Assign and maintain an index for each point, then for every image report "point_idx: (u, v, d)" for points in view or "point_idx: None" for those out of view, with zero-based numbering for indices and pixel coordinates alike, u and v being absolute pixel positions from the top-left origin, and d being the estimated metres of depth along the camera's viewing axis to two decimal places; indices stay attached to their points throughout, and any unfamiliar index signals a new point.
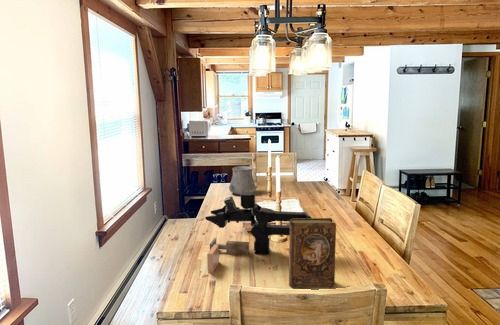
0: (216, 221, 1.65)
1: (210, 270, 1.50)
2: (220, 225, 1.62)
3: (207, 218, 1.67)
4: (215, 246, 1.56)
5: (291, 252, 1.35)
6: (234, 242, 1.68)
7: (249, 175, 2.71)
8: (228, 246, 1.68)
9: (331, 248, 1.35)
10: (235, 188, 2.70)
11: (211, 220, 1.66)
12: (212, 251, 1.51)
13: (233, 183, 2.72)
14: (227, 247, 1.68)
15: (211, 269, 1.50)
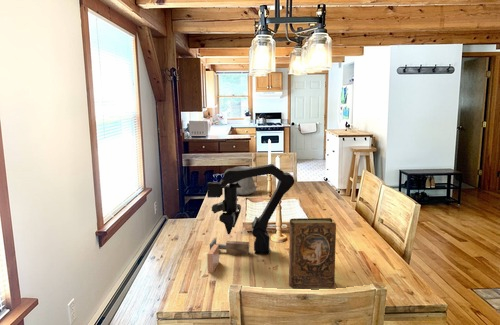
0: (230, 223, 1.61)
1: (210, 270, 1.50)
2: (230, 220, 1.57)
3: (228, 232, 1.63)
4: (215, 246, 1.56)
5: (291, 252, 1.35)
6: (234, 242, 1.69)
7: None
8: (228, 246, 1.68)
9: (331, 248, 1.35)
10: None
11: (230, 228, 1.62)
12: (212, 251, 1.51)
13: None
14: (227, 247, 1.68)
15: (211, 269, 1.50)
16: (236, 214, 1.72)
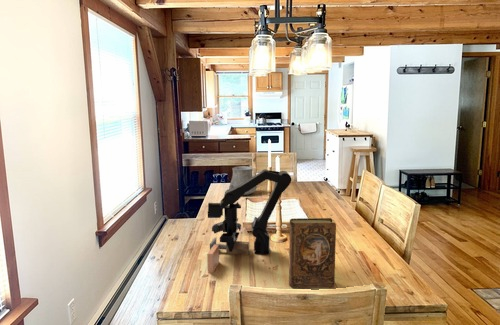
0: None
1: (210, 270, 1.50)
2: (230, 241, 1.59)
3: (230, 249, 1.67)
4: (215, 246, 1.56)
5: (291, 252, 1.35)
6: None
7: (249, 175, 2.71)
8: None
9: (331, 248, 1.35)
10: None
11: (231, 246, 1.66)
12: (212, 251, 1.51)
13: (233, 183, 2.72)
14: (227, 247, 1.68)
15: (211, 269, 1.50)
16: (235, 236, 1.70)
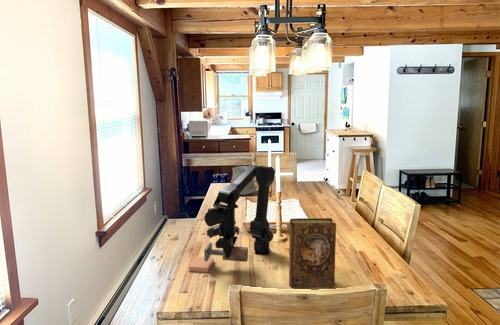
0: None
1: (205, 269, 1.50)
2: (227, 246, 1.42)
3: (227, 256, 1.51)
4: None
5: (291, 252, 1.35)
6: None
7: None
8: None
9: (331, 248, 1.35)
10: None
11: (228, 252, 1.50)
12: None
13: None
14: (224, 253, 1.51)
15: (204, 269, 1.50)
16: (232, 240, 1.54)
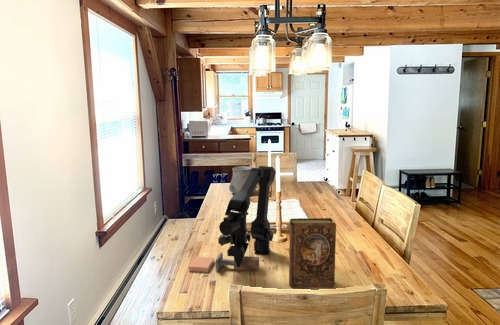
0: None
1: (205, 269, 1.50)
2: (239, 255, 1.42)
3: (238, 265, 1.49)
4: None
5: (291, 252, 1.35)
6: (243, 257, 1.52)
7: None
8: None
9: (331, 248, 1.35)
10: (235, 188, 2.70)
11: (239, 261, 1.48)
12: None
13: (233, 183, 2.72)
14: (235, 263, 1.51)
15: (204, 268, 1.50)
16: (244, 247, 1.55)
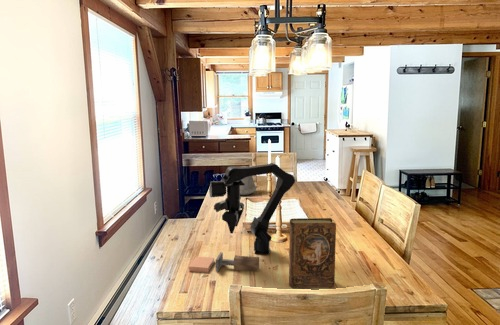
0: (233, 222, 1.58)
1: (205, 269, 1.50)
2: (233, 218, 1.54)
3: (231, 231, 1.59)
4: None
5: (291, 252, 1.35)
6: (243, 257, 1.52)
7: None
8: (236, 262, 1.51)
9: (331, 248, 1.35)
10: None
11: (232, 227, 1.58)
12: None
13: None
14: (235, 263, 1.51)
15: (204, 269, 1.50)
16: (239, 213, 1.68)
